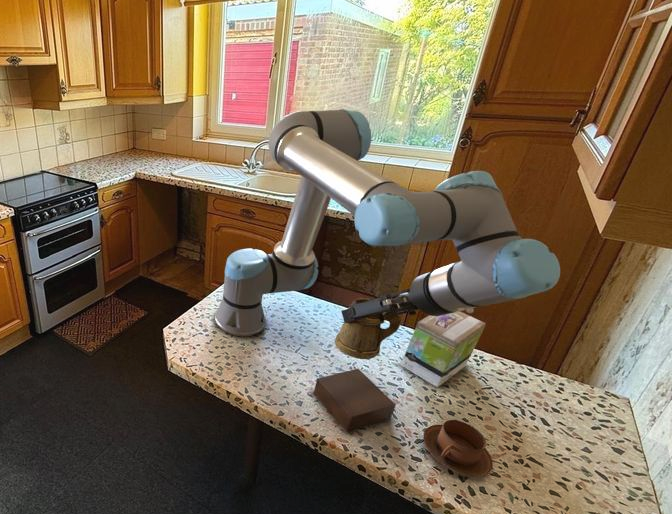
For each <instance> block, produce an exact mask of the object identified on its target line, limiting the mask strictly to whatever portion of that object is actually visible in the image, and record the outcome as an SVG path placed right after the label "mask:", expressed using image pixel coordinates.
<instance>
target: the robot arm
mask: <svg viewBox="0 0 672 514" xmlns="http://www.w3.org/2000/svg"><path fill="white" fill-rule="evenodd" d="M371 145H372V130H371V126H370V123H369V119H367V117H366V116H365V114H363V112H360V111H358V110H355V109H344V108H340V109H327V110H326V109H325V110H299V111H294V112H290V113H288V114H287V115H284V116H283V117H281V118H280V119H279V120H278V121H277V122H276V124H275V125H274V126H273V127H272V129H271V131H270V134H269V137H268V151H269V153H270V156H271V157H272V160H274V162H275V163H277V164H278V166H280V167H281V168H282V169H284V170H286V171H288V172H296V173H297V174H299V176H300V180H299V184H298V186H297V190H296V193H295V197H294V199H293V202H292V205H291V210H290V213H289V216H288V219H287V222H286V226H285V229H284V232H283V236H282V239H281V241H278V242H276V243H275V245H274V247H273V250H272V253H269V254H267V253H265V252H264V251H263V250H260V249H257V248H255V249H253V248H242V249H238V250H235V251H234V252H232V253H231V254H230V255H229V256H228V257H227V259H226V263H225V267H224V280H223V293H222V299H221V301H220V303H219V305H218V307H217V309H216V311H215V315H214V320H215V324H216V326H217V327H218V328H219V329H220V330H221V331H223V332H224V333H226V334H229V335H232V336H235V337H251V336H256V335H258V334H260V333H261V332H262V331H263V330H264V328H265V325H266V318H267V313H268V312H266V313H265V312H264V307H263V296H264V295H268V294H277V293H278V294H279V293H289V292H300V291H302V290H307V289H309V288H310V287H312V286H313V285H314V284H315V282H316V280H317V278H318V275H319V269H318V268H319V263H318V259H317V257H316V254H315V252H314V250H313V248H314V245H315V243H316V240H317V237H318V235H319V232H320V229H321V227H322V224H323V221H324V219H325V216H326V213H327V211H328V208H329V205H330V203H331V200H333V201H334V202H336V203H337V204H338V205H340V206H341V207H342V208H343V209H345V210H346V211H347V212H349V213H350V214H351V215H353V216H354V221H353V222H354V227H355V230H356V231H357V232H358V233H359V234H358V236H359V238H360V240H362V241H363V242H364V243H366V244H368V245H370V246H373V247H374V246H375V247H382V246H384V247H385V246H386V247H398V246H403V245H410V244H418V243H419V244H420V243H428V242H439V241H448V240H449V241H450V240H451V241H452V243H453V245H454V247H455V250H456V252H457V254H458V255H459V258H460V261H456V262H453V263H450V264H448V265H444V266H442V267H439V268H436V269H435V270H432V271H429V272H427V273H423V274H421V275H419V276H417V277H415V278H414V279H413V281H412V283H411V285H410V288H406V289H403V290H401V291H400V292H396V293H395V292H394V293H391V294H385V295H383V296H381V297H377V298H374V299H370V301H367V302H363V303H360V302H355V305H351V304H350V305H351V306H350V305H349V306H350V308H349V307H348V308H349V309H348V308H346V309H344V310H341V316H342V319H343V323H349V322H352V321H356V320H360V319H363V318H366V317H367V316H371V315H376V314H381V313H385V312H390V311H392V312H394V313H397V312H399V315H400V316H401V315H404V314H407V313H408V315H409V316H414V315H417V312H416V311H421V312H422V313H424V314H426V315H428V316H429V315H431V316H441V315H446V314H450V313H454V312H457V311H460V312H462V311H465V312H466V313H467V314H473V313H474V311H475V310H474V309H476V308H480V307H485V306H490V305H496V304H500V303H505V302H509V301H514V300H519V299H524V298H525V299H526V298H527V297H529V296H533V295H537V294H541V293H543V292H546V291H549V290H551V289H552V288H553V287H555V286H556V285H557V283H558V282H559V279H560V277H561V266H560V262H559V260H558V258H557V256H556V255H555V253H554V252H551V251H550V250H549V247H548V246H547V245H546V244H544V243H543V242H541V241H539V240H537V239H533V238H522V237H521V236H520V235H519V231H518V230H517V227H516V225H515V223H514V221H513V218H512V216H511V213H510V211H509V208H508V206H507V204H506V201H505V198H504V196H503V193H502V191H501V189H499V188H498V186H497V184H496V182H495V180H494V178H493V176H492V175H491V174H490V173H489V172H487V171H484V170H472V171H468V172H465V173H460V174H457V175H454V176H451V177H449V178H447V179H445V180H444V181H441V183H439V184H438V185H437V186H436V187H435V188H434V190H429V191H428V190H427V191H413V190H409V189H408V188H406V187H404V186H402V185H400V184H399V183H397V182H395V181H393V180H392V179H390V178H388V177H386V176H384V175H382V174H381V173H379V172H377V170H376V171H375V170H374V169H372V168H371V167H369V166H367V165H365V164H363V163H362V162H360V160H362V159H364V158H365V157H366V156H367V154H368V153H369V150H370V149H371ZM397 304H398V305H399V307H401V309H399V308H398V305H397Z"/></svg>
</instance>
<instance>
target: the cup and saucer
mask: <svg viewBox="0 0 672 514" xmlns="http://www.w3.org/2000/svg"><path fill="white" fill-rule="evenodd" d="M423 442H424V445H425V447H426V449H427V451H428V452H429V453H430V455H431V456H432V457H433V458H434V459H435V460H436V461H437V462H439V463H440V464H441V465H443V466H444V467H446V468H447V469H449V470H451V471H453V472H454V473H457V474H460V475H463V476H467V477H470V478H471V477H472V478H481V477H485V476H486V475H488V474H490V473H491V472H492V471H493V468H494V462H493V458H492V455H491V454H490V452H489V450H488V449H487V440H486V438H485V436H484V434H482V432H480V431H479V430H478V429H477V428H476V427H474V426H473V425H471V424H470V423H467V422H465V421H462V420H458V419H447V420H446V421H445V422H443V423H442V424H432V425H430V426H428V427H427V428H426V429H425V430H424V432H423Z"/></svg>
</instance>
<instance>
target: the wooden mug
mask: <svg viewBox="0 0 672 514" xmlns="http://www.w3.org/2000/svg"><path fill="white" fill-rule="evenodd" d="M370 300H371V299H370V298H367V297H358V298H354V299H353V301H352V303H351V304H350V305H349V307H348V308H347V309H349V308H350V306H351V305H355V302H360V303H363V302H367V301H370ZM397 305H398V304H397ZM398 308H399V309H401V307H399V305H398ZM385 320H387V321H388V323H389V325H388V327H386V328H383V327H381V326H382V324H384V323H385ZM401 321H402V319H401V314H400V315H399V312H397V313H394V312H392V311H390V312H385V313H381V314H376V315H371V316H367V317H366V318H363V319H360V320H356V321H352V322H349V323H344V322H343V323H342V325H341V328H340V329H339V331H338V332H337V334H336V336H335V338H334V346H335V347H336V349H337V350H339V352H341V353H342V354H344V355H346V356H349V357H350V358H353V359H354V358H355V359H359V360H371V359H374V358H375V357H377V356H379V354H380V352H381V344H382V342H383V341H385V340H386V339H388V338H389V337H390V336H392V335H393V334H395V333H396V332H397V331H398V330H399V328H400V326H401Z"/></svg>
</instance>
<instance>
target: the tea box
mask: <svg viewBox="0 0 672 514" xmlns="http://www.w3.org/2000/svg"><path fill="white" fill-rule="evenodd" d="M485 328H486V322H484V321H482V320H479V319H477V318H475V317H473V316H471V315H468V314H466V313H464V312H462V311H457V312H454V313H450V314H446V315H441V316H431V315H428V316H426V317H424V318H423V319H421V320H419V321H418V322H417V323H416V326H415V329H414V330H413V334H412V336H411V338H410V341H409V343H408V346H407V348H406V350H405V353H404V355H403V358H402V361H401V363H400V366H401V367H403V368H405V369H406V370H407V371H409V372H411V373H412V374H415V375H416V376H417V377H419V378H421V379H423V380H424V381H426V382H428V384H431V385H433V386H434V387H436V388H438V387H440V386H441V385H443V384H444V383H445V382H447V381H448V380H450V379H451V378H452V377H453V376H454V375H456V374H457V373H459V372H460V371H461V370H463V369H464V368H465V367H466V366H467V364H468V362H469V361H470V357H471V356H472V354H473V352H474V350H475V348H476V345H477V344H478V342H479V339H480V338H481V335H482V334H483V332H484V330H485Z"/></svg>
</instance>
